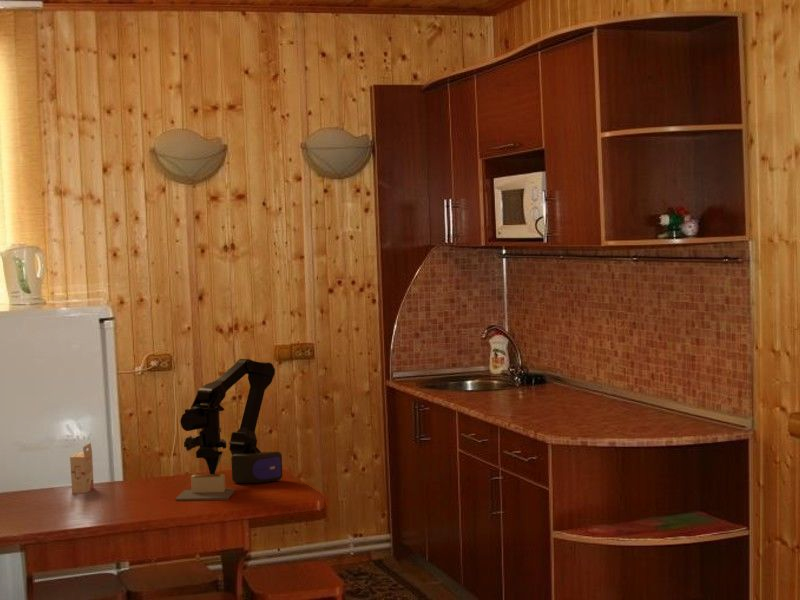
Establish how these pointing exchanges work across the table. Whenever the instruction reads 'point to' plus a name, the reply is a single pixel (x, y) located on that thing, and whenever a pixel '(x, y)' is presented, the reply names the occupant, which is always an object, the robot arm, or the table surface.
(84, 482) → the ink cartridge box
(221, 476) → the block
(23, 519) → the table surface
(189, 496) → the mat
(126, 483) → the table surface
